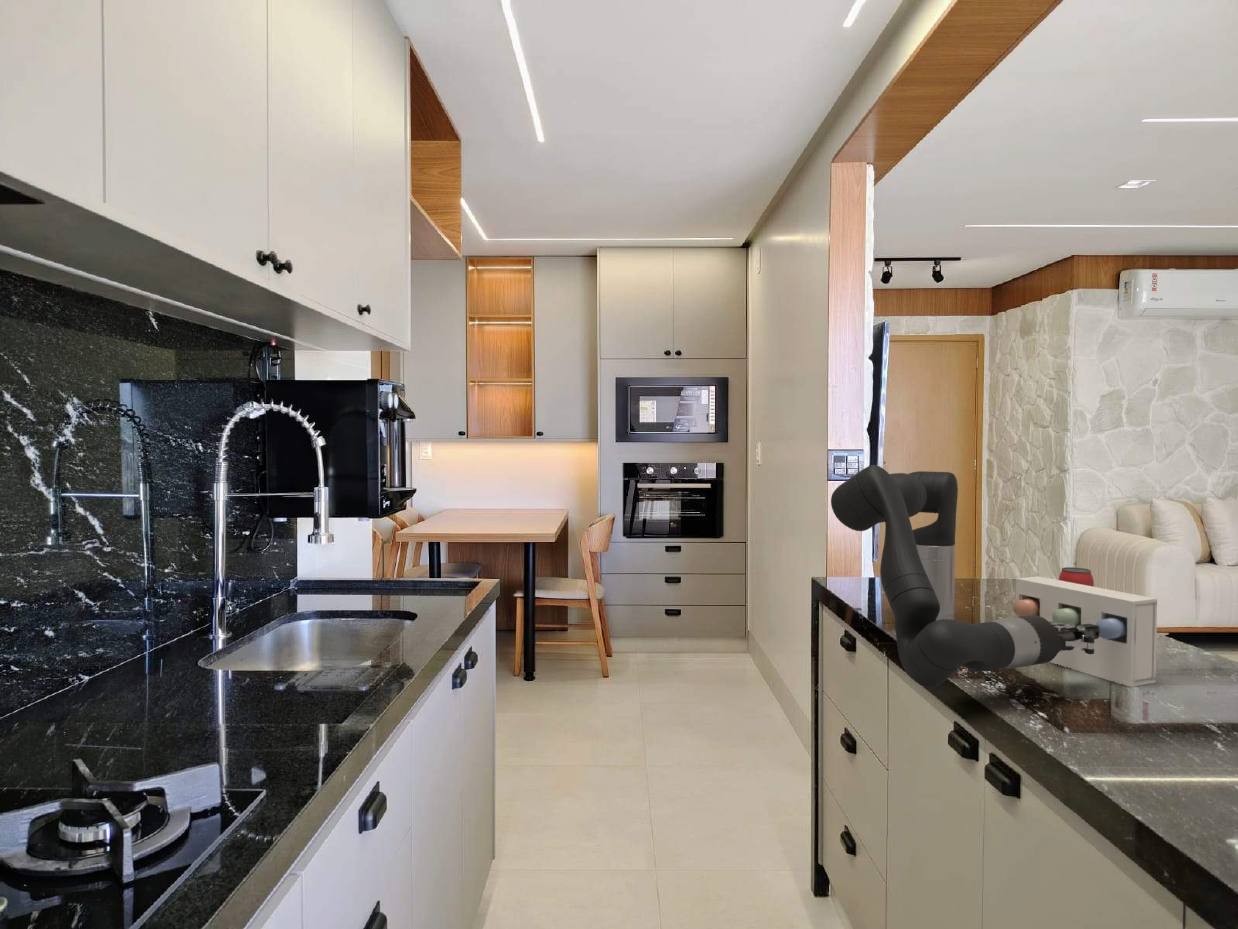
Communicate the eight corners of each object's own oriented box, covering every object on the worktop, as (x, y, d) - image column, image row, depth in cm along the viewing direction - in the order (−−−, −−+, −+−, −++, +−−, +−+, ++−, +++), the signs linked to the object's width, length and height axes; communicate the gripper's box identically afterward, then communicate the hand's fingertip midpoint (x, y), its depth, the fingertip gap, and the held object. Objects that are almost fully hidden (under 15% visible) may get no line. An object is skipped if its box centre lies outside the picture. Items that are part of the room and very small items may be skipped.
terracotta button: (1013, 615, 140) (1013, 598, 140) (1027, 614, 141) (1027, 597, 141) (1028, 619, 137) (1028, 602, 137) (1042, 617, 138) (1042, 600, 138)
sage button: (1051, 625, 132) (1052, 607, 132) (1066, 623, 134) (1066, 605, 134) (1068, 629, 129) (1068, 611, 129) (1083, 627, 131) (1083, 609, 131)
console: (1014, 651, 142) (1015, 578, 142) (1037, 648, 144) (1038, 576, 144) (1130, 687, 122) (1132, 601, 121) (1155, 682, 124) (1157, 598, 123)
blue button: (1095, 636, 125) (1095, 617, 125) (1110, 634, 126) (1110, 615, 126) (1114, 641, 122) (1114, 621, 122) (1129, 639, 123) (1129, 619, 123)
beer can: (1060, 625, 162) (1061, 570, 162) (1055, 619, 168) (1056, 566, 168) (1096, 628, 159) (1097, 572, 159) (1089, 621, 166) (1090, 567, 165)
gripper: (1056, 627, 110) (1136, 617, 116) (982, 609, 122) (1058, 600, 129) (1055, 678, 110) (1135, 664, 116) (982, 654, 122) (1057, 643, 129)
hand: (1094, 630), depth 123 cm, fingers closed
